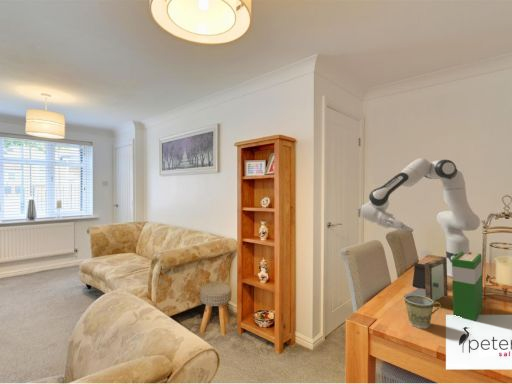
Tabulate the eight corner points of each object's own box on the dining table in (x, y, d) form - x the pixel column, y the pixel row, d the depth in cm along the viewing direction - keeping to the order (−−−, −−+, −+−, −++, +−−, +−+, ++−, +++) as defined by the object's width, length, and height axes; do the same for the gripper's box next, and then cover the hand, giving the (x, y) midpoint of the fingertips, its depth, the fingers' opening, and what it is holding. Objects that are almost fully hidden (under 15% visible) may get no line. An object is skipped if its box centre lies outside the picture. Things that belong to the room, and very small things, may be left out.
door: (441, 294, 136) (440, 262, 136) (447, 296, 133) (447, 264, 133) (429, 302, 128) (428, 268, 128) (435, 304, 126) (434, 269, 125)
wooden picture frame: (442, 294, 138) (442, 256, 138) (447, 295, 136) (446, 257, 136) (425, 304, 127) (424, 263, 127) (430, 305, 125) (429, 264, 125)
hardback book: (462, 302, 127) (461, 251, 127) (482, 307, 122) (481, 254, 122) (453, 315, 115) (451, 259, 115) (475, 321, 110) (474, 262, 110)
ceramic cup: (411, 330, 105) (410, 304, 104) (401, 318, 114) (400, 294, 114) (448, 332, 103) (447, 305, 102) (435, 319, 112) (434, 295, 112)
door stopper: (424, 289, 145) (423, 266, 145) (412, 286, 150) (411, 264, 150) (430, 285, 151) (430, 263, 150) (419, 282, 155) (418, 261, 155)
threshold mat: (419, 289, 146) (419, 288, 146) (442, 295, 137) (442, 294, 137) (403, 296, 136) (403, 295, 136) (428, 303, 127) (427, 302, 127)
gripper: (386, 213, 153) (413, 223, 145) (391, 217, 169) (415, 226, 161) (381, 223, 153) (408, 234, 145) (387, 226, 170) (411, 236, 162)
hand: (412, 230), depth 153 cm, fingers open, 8 cm apart
